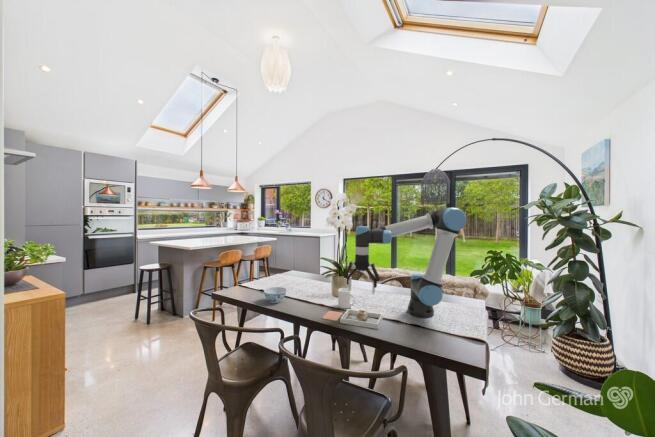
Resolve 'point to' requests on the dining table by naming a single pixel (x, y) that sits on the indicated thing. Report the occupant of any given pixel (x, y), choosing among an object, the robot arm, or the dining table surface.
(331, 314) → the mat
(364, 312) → the beige round lump
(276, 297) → the chinaware
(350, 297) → the mug
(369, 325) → the bin
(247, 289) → the dining table surface
